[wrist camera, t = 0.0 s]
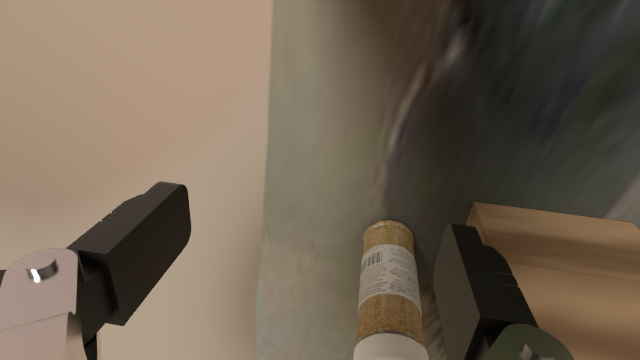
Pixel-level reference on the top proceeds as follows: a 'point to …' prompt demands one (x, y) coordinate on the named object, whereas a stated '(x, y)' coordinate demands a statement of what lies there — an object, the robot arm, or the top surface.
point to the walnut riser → (571, 275)
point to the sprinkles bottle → (389, 296)
